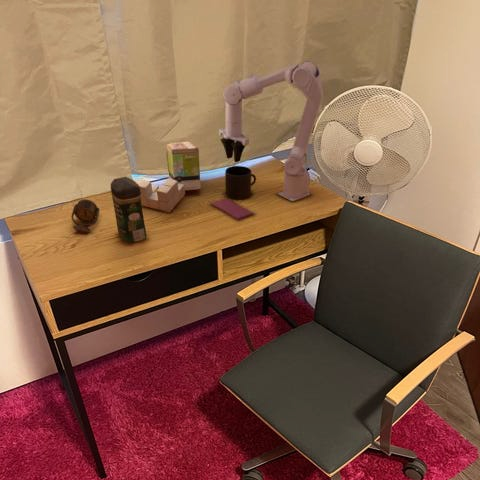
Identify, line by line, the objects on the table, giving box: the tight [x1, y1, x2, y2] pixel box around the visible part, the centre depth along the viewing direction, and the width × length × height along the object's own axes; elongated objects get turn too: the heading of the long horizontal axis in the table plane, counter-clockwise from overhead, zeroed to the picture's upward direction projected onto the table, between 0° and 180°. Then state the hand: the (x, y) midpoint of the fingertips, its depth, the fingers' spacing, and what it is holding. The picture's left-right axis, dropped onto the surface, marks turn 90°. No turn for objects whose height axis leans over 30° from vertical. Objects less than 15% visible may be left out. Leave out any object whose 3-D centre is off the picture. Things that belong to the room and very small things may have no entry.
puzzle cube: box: [137, 178, 186, 213], centre depth 167 cm, size 12×12×8 cm
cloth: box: [210, 198, 255, 221], centre depth 167 cm, size 7×15×1 cm, turn 40°
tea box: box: [166, 141, 202, 191], centre depth 176 cm, size 15×10×15 cm, turn 16°
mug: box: [224, 165, 257, 200], centre depth 175 cm, size 9×12×9 cm
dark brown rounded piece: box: [71, 198, 101, 234], centre depth 155 cm, size 7×13×10 cm
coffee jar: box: [110, 176, 147, 244], centre depth 145 cm, size 10×8×19 cm
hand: (233, 159), depth 176 cm, fingers open, 4 cm apart
